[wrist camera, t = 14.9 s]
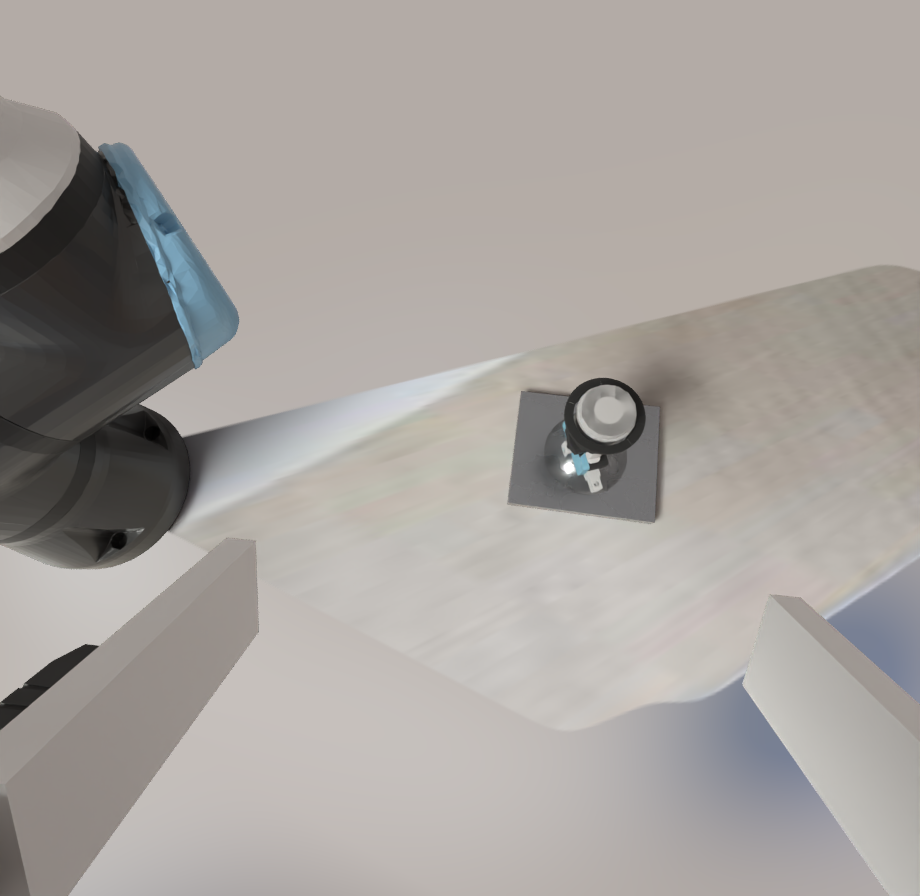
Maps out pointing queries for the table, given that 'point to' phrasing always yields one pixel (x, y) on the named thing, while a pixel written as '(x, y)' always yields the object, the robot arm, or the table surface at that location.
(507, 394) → the table surface
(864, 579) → the table surface
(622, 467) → the flange plate
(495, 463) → the table surface
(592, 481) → the push button
